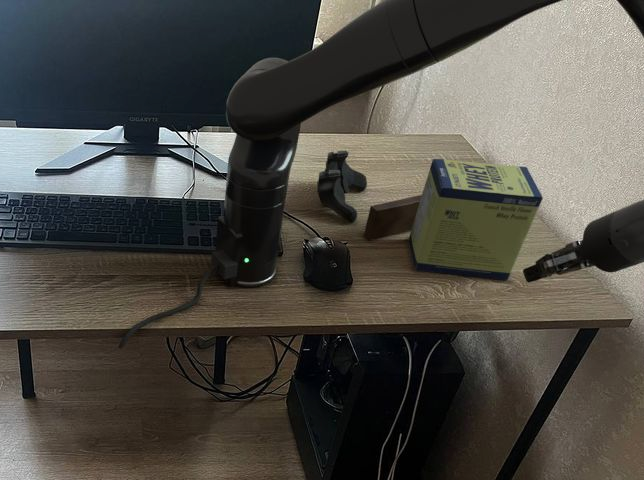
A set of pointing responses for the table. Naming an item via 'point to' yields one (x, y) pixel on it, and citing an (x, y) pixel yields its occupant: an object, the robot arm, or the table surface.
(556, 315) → the table surface
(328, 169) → the game controller
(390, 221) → the bar
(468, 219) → the protein box
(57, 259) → the table surface
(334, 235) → the table surface
